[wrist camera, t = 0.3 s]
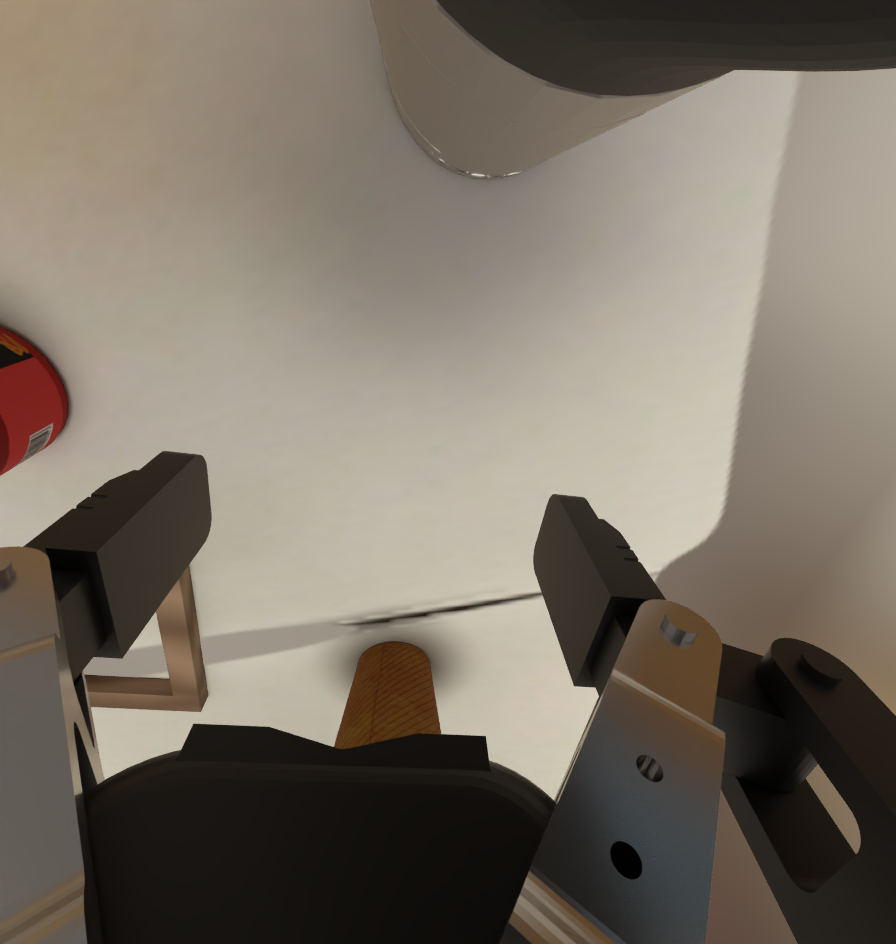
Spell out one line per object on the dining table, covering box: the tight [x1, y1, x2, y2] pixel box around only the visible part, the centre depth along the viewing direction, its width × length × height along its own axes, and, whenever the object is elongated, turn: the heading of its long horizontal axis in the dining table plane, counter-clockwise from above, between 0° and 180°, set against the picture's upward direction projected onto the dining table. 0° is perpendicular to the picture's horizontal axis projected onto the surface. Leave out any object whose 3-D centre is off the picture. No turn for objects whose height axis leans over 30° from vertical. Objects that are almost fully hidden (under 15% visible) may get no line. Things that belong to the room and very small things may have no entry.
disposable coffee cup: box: [334, 642, 441, 749], centre depth 34 cm, size 10×10×12 cm
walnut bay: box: [84, 565, 208, 712], centre depth 34 cm, size 20×18×2 cm
